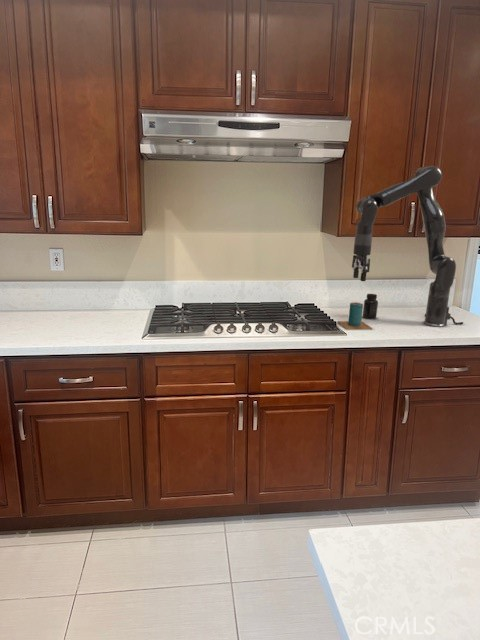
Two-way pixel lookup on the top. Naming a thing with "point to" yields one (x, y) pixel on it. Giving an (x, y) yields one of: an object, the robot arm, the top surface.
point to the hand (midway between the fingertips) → (359, 279)
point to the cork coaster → (347, 326)
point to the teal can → (355, 314)
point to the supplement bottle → (370, 306)
